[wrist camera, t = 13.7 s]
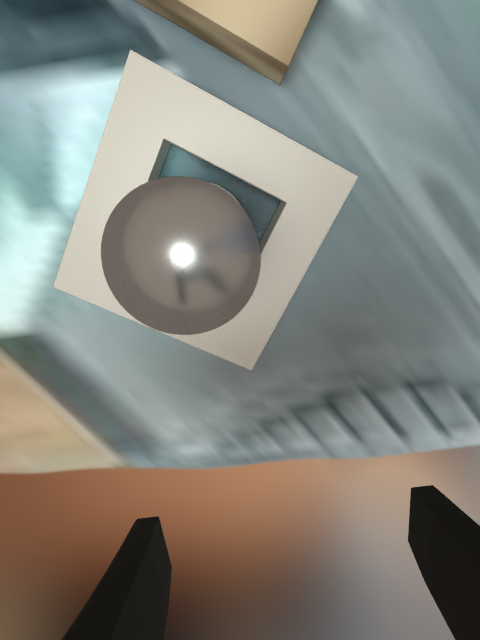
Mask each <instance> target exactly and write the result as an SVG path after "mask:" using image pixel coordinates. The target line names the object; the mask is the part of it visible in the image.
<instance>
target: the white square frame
mask: <svg viewBox="0 0 480 640" xmlns="http://www.w3.org/2000/svg"><path fill="white" fill-rule="evenodd" d="M171 144H172V145H174V146H176V147H178V148H180V149H182V150H184V151H185V152H187V153H189V154H191V155H193V156H195V157H197V158H199V159H201V160H203V161H205V162H207V163H209V164H210V165H212V166H214V167H216V168H218V169H220V170H222V171H224V172H226V173H228V174H230V175H232V176H234V177H235V178H237V179H239V180H241V181H243V182H245V183H247V184H249V185H251V186H253V187H255V188H257V189H258V190H260V191H262V192H264V193H266V194H268V195H270V196H272V197H274V198H276V199H278V200H280V201H281V202H280V204H279V206H278V208H277V210H276V212H275V214H274V216H273V218H272V220H271V222H270V224H269V226H268V228H267V230H266V232H265V234H264V236H263V238H262V240H261V242H260V244H259V245H260V253H261V267H260V274H259V278H258V282H257V285H256V288H255V290H254V292H253V294H252V296H251V298H250V300H249V301H248V303H247V304H246V305H245V307H244V308H243V309H242V310H241V311H240V312H239V313H238V314H237V315H236V316H235V317H234V318H233V319H231V320H230V321H229V322H227V323H226V324H224V325H222V326H220V327H218V328H216V329H214V330H211V331H208V332H204V333H200V334H193V335H176V334H169V333H165V332H161V331H159V332H161V333H164V334H166V335H168V336H171V337H173V338H176V339H178V340H180V341H183V342H185V343H187V344H190V345H192V346H194V347H197V348H199V349H202V350H204V351H206V352H209V353H211V354H213V355H216V356H218V357H220V358H223V359H225V360H228V361H230V362H232V363H235V364H237V365H239V366H242V367H244V368H246V369H249V370H251V371H252V369H253V367H254V365H255V363H256V362H257V360H258V358H259V356H260V354H261V353H262V351H263V349H264V347H265V345H266V343H267V342H268V340H269V338H270V336H271V334H272V333H273V331H274V329H275V327H276V325H277V323H278V322H279V320H280V318H281V316H282V314H283V313H284V311H285V309H286V307H287V305H288V303H289V302H290V300H291V298H292V296H293V294H294V293H295V291H296V289H297V287H298V285H299V283H300V282H301V280H302V278H303V276H304V274H305V273H306V271H307V269H308V267H309V265H310V263H311V262H312V260H313V258H314V256H315V254H316V253H317V251H318V249H319V247H320V245H321V243H322V242H323V240H324V238H325V236H326V234H327V233H328V231H329V229H330V227H331V225H332V223H333V222H334V220H335V218H336V216H337V214H338V213H339V211H340V209H341V207H342V205H343V203H344V202H345V200H346V198H347V196H348V194H349V193H350V191H351V189H352V187H353V185H354V183H355V182H356V180H357V178H358V176H356V175H354V174H352V173H351V172H349V171H347V170H345V169H343V168H342V167H340V166H338V165H336V164H335V163H333V162H331V161H329V160H327V159H326V158H324V157H322V156H320V155H318V154H317V153H315V152H313V151H311V150H309V149H308V148H306V147H304V146H302V145H300V144H299V143H297V142H295V141H293V140H291V139H290V138H288V137H286V136H284V135H282V134H281V133H279V132H277V131H275V130H273V129H272V128H270V127H268V126H266V125H264V124H263V123H261V122H259V121H257V120H255V119H254V118H252V117H250V116H248V115H246V114H245V113H243V112H241V111H239V110H238V109H236V108H234V107H232V106H230V105H229V104H227V103H225V102H223V101H221V100H220V99H218V98H216V97H214V96H212V95H211V94H209V93H207V92H205V91H203V90H202V89H200V88H198V87H196V86H194V85H193V84H191V83H189V82H187V81H185V80H184V79H182V78H180V77H178V76H176V75H175V74H173V73H171V72H169V71H167V70H166V69H164V68H162V67H160V66H158V65H157V64H155V63H153V62H151V61H149V60H148V59H146V58H144V57H142V56H141V55H139V54H137V53H135V52H133V51H132V50H130V52H129V55H128V59H127V62H126V65H125V68H124V71H123V74H122V77H121V80H120V83H119V86H118V89H117V92H116V96H115V99H114V102H113V105H112V108H111V111H110V114H109V117H108V120H107V123H106V126H105V129H104V133H103V136H102V139H101V142H100V145H99V148H98V151H97V154H96V157H95V160H94V163H93V167H92V170H91V173H90V176H89V179H88V182H87V185H86V188H85V191H84V194H83V197H82V200H81V204H80V207H79V210H78V213H77V216H76V219H75V222H74V225H73V228H72V231H71V234H70V237H69V241H68V244H67V247H66V250H65V253H64V256H63V259H62V262H61V265H60V268H59V271H58V274H57V278H56V281H55V284H54V287H55V288H57V289H60V290H62V291H64V292H67V293H69V294H71V295H74V296H76V297H79V298H81V299H83V300H86V301H88V302H90V303H93V304H95V305H97V306H100V307H102V308H105V309H107V310H109V311H112V312H114V313H116V314H119V315H121V316H123V317H126V318H128V319H131V320H133V321H135V322H138V323H140V324H142V325H145V324H143V323H141V322H140V321H138V320H137V319H135V318H134V317H133V316H131V315H130V314H129V313H128V312H127V311H126V310H125V309H124V308H123V307H122V306H121V305H120V304H119V302H118V301H117V300H116V298H115V297H114V295H113V293H112V292H111V290H110V288H109V286H108V284H107V281H106V279H105V276H104V272H103V268H102V262H101V242H102V235H103V232H104V228H105V225H106V223H107V220H108V218H109V216H110V214H111V213H112V211H113V210H114V208H115V206H116V205H117V204H118V203H119V202H120V201H121V199H122V198H123V197H125V196H126V195H127V194H128V193H129V192H130V191H132V190H133V189H135V188H137V187H138V186H140V185H142V184H144V183H146V182H149V181H151V180H155V179H158V178H159V175H160V172H161V170H162V167H163V164H164V162H165V159H166V157H167V154H168V151H169V149H170V146H171ZM145 326H147V325H145ZM147 327H149V326H147ZM149 328H150V327H149ZM152 329H153V328H152ZM154 330H155V329H154ZM157 331H158V330H157Z"/></svg>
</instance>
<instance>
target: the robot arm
mask: <svg viewBox="0 0 480 640" xmlns="http://www.w3.org/2000/svg"><path fill="white" fill-rule="evenodd" d="M409 517H410V518H409V535H408V542H409V544H410V547H411V549H412V552H413V554H414V557H415V559H416V562H417V564H418V566H419V569H420V571H421V573H422V576H423V578H424V581H425V583H426V585H427V587H428V588H429V591H430V593H431V594H432V596H433V598H434V600H435V602H436V604H437V606H438V608H439V610H440V611H441V613H442V615H443V617H444V619H445V621H446V623H447V625H448V627H449V628H450V630H451V632H452V634H453V636H454V638H455V639H456V640H480V526H479V525H478V524H477V523H475V522H474V521H473V520H472V519H471V518H470V517H469V516H467V515H466V514H465V513H464V512H463V511H462V510H461V509H460V508H458V507H457V506H456V505H455V504H454V503H452V501H450V500H449V499H448V498H447V497H446V496H445V495H444V494H442V493H441V492H440V491H439V490H438V489H437V488H435V487H434V486H433V485H431V486H422V487H413V488H411V499H410V516H409ZM171 569H172V566H171V563H170V559H169V555H168V551H167V547H166V543H165V539H164V536H163V532H162V528H161V524H160V520H159V517H150V518H141V519H137V520H136V521H135V522H134V524H133V526H132V528H131V530H130V531H129V533H128V535H127V537H126V538H125V540H124V542H123V544H122V545H121V547H120V549H119V551H118V552H117V554H116V556H115V558H114V559H113V561H112V562H111V564H110V566H109V567H108V569H107V571H106V572H105V574H104V576H103V577H102V579H101V581H100V582H99V583H98V585H97V587H96V588H95V590H94V592H93V593H92V595H91V596H90V598H89V600H88V601H87V603H86V604H85V606H84V607H83V609H82V610H81V612H80V613H79V615H78V616H77V618H76V619H75V620H74V622H73V623H72V625H71V627H70V628H69V629H68V631H67V632H66V634H65V635H64V637H63V638H62V639H61V640H163V636H164V630H165V625H166V619H167V613H168V604H169V595H170V581H171Z"/></svg>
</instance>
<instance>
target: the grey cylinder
mask: <svg viewBox="0 0 480 640" xmlns="http://www.w3.org/2000/svg"><path fill="white" fill-rule="evenodd" d="M101 262H102V268H103V272H104V276H105V279H106V281H107V284H108V286H109V288H110V290H111V292H112V293H113V295H114V297H115V298H116V300H117V301H118V302H119V304H120V305H121V306H122V307H123V308H124V309H125V310H126V311H127V312H128V313H129V314H130V315H131V316H133V317H134V318H135V319H137V320H138V321H140V322H141V323H143V324H145V325H147V326H149V327H150V328H153V329H155V330H158V331H161V332H165V333H169V334H176V335H193V334H200V333H204V332H208V331H211V330H214V329H216V328H218V327H220V326H222V325H224V324H226V323H227V322H229V321H230V320H231V319H233V318H234V317H235V316H236V315H237V314H238V313H239V312H240V311H241V310H242V309H243V308H244V307H245V305H246V304H247V303H248V301H249V300H250V298H251V296H252V294H253V292H254V290H255V288H256V285H257V282H258V278H259V274H260V267H261V253H260V245H259V241H258V237H257V234H256V231H255V229H254V226H253V224H252V222H251V220H250V218H249V217H248V215H247V214H246V212H245V211H244V209H243V208H242V206H241V205H240V204H239V202H238V201H237V199H236V198H235V197H234V196H233V195H232V194H231V193H230V192H229V191H228V190H226V189H225V188H223V187H222V186H219V185H217V184H214V183H210V182H207V181H203V180H199V179H196V178H190V177H184V176H171V177H163V178H158V179H155V180H151V181H149V182H146V183H144V184H142V185H140V186H138V187H137V188H135V189H133V190H132V191H130V192H129V193H128V194H127V195H126V196H125V197H123V198H122V199H121V201H120V202H119V203H118V204H117V205H116V206H115V208H114V210H113V211H112V213H111V214H110V216H109V218H108V220H107V223H106V225H105V228H104V232H103V235H102V242H101Z"/></svg>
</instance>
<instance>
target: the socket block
mask: <svg viewBox="0 0 480 640" xmlns="http://www.w3.org/2000/svg"><path fill="white" fill-rule="evenodd" d="M135 1H137V2H139V3H140V4H142V5H144V6H145V7H147V8H149V9H151V10H152V11H154V12H156V13H157V14H159V15H161V16H163V17H164V18H166V19H168V20H169V21H171V22H173V23H175V24H176V25H178V26H180V27H181V28H183V29H185V30H187V31H188V32H190V33H192V34H193V35H195V36H197V37H199V38H200V39H202V40H204V41H206V42H207V43H209V44H211V45H212V46H214V47H216V48H218V49H219V50H221V51H223V52H224V53H226V54H228V55H230V56H231V57H233V58H235V59H236V60H238V61H240V62H242V63H243V64H245V65H247V66H248V67H250V68H252V69H254V70H255V71H257V72H259V73H260V74H262V75H264V76H266V77H267V78H269V79H271V80H272V81H274V82H276V83H278V84H280V82H281V80H282V78H283V76H284V74H285V72H286V70H287V68H288V66H289V63H290V61H291V59H292V57H293V54H294V52H295V50H296V48H297V46H298V43H299V41H300V39H301V37H302V34H303V32H304V30H305V28H306V26H307V23H308V21H309V19H310V17H311V14H312V12H313V10H314V8H315V5H316V3H317V1H318V0H135Z"/></svg>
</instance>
